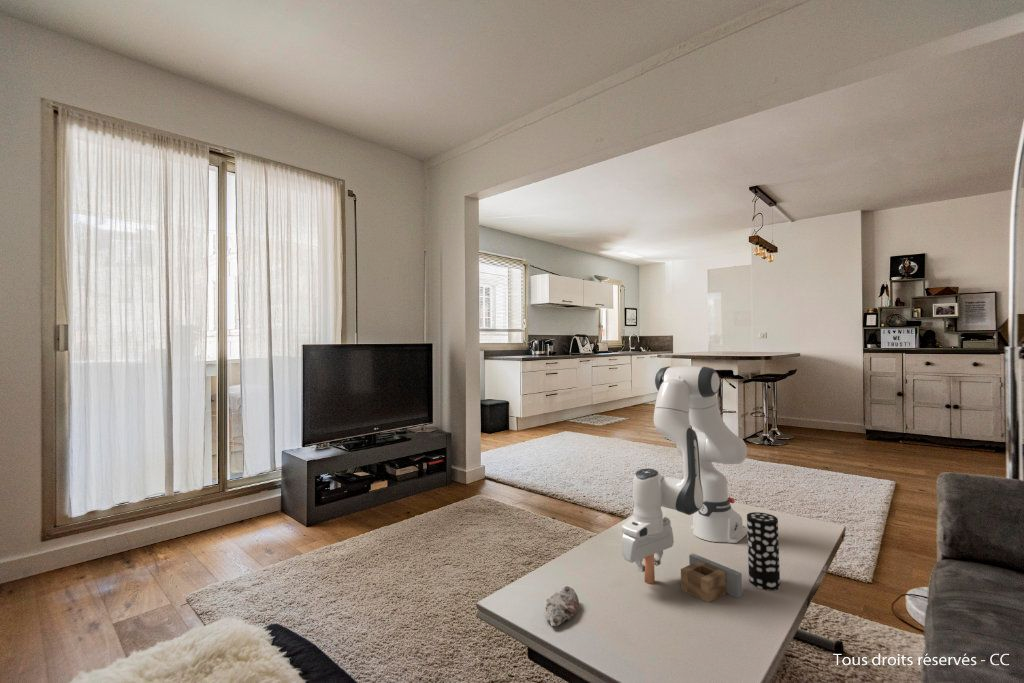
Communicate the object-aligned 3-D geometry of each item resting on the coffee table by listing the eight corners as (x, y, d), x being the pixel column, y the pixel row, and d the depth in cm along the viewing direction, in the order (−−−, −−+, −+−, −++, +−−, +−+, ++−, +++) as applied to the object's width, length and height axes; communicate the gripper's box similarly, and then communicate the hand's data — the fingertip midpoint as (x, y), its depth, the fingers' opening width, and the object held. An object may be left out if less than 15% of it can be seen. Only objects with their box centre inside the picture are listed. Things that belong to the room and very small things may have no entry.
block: (699, 580, 142) (699, 560, 142) (726, 592, 135) (726, 572, 135) (681, 589, 137) (680, 568, 137) (708, 602, 130) (707, 581, 130)
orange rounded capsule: (649, 578, 144) (648, 546, 144) (656, 582, 142) (655, 549, 142) (642, 580, 143) (641, 548, 143) (650, 584, 140) (649, 552, 140)
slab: (693, 573, 146) (693, 553, 146) (742, 595, 133) (741, 573, 133) (689, 575, 145) (689, 554, 145) (738, 597, 132) (737, 575, 132)
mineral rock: (559, 633, 118) (558, 616, 118) (535, 621, 123) (534, 605, 123) (590, 608, 129) (589, 592, 129) (566, 598, 134) (566, 583, 134)
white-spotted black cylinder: (754, 573, 145) (752, 510, 146) (783, 582, 139) (781, 516, 140) (744, 583, 140) (742, 517, 140) (775, 593, 134) (772, 524, 134)
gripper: (661, 512, 151) (662, 555, 151) (617, 527, 140) (618, 573, 139) (677, 518, 146) (679, 562, 145) (633, 534, 134) (634, 581, 134)
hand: (649, 567), depth 142 cm, fingers open, 6 cm apart
